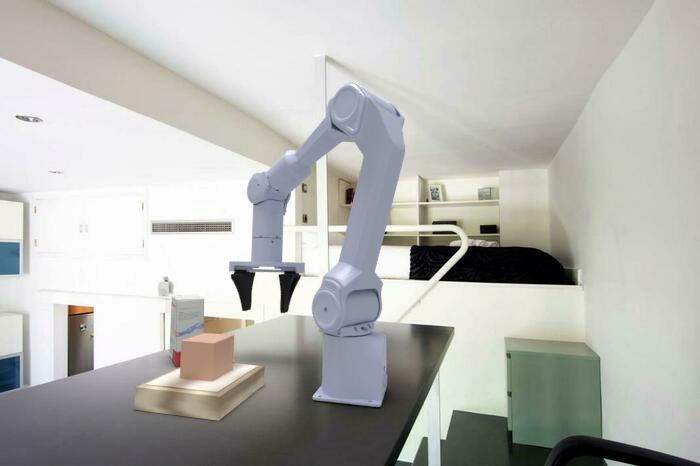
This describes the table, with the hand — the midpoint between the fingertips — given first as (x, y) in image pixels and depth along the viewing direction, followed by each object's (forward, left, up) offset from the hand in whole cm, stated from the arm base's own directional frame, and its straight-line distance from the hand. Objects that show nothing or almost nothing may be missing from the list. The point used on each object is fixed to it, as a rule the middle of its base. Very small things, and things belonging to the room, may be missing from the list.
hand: (265, 311), depth 64 cm
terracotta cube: (+1, +16, -6) cm, 17 cm away
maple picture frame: (+1, +16, -9) cm, 19 cm away
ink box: (+15, +2, -10) cm, 18 cm away
